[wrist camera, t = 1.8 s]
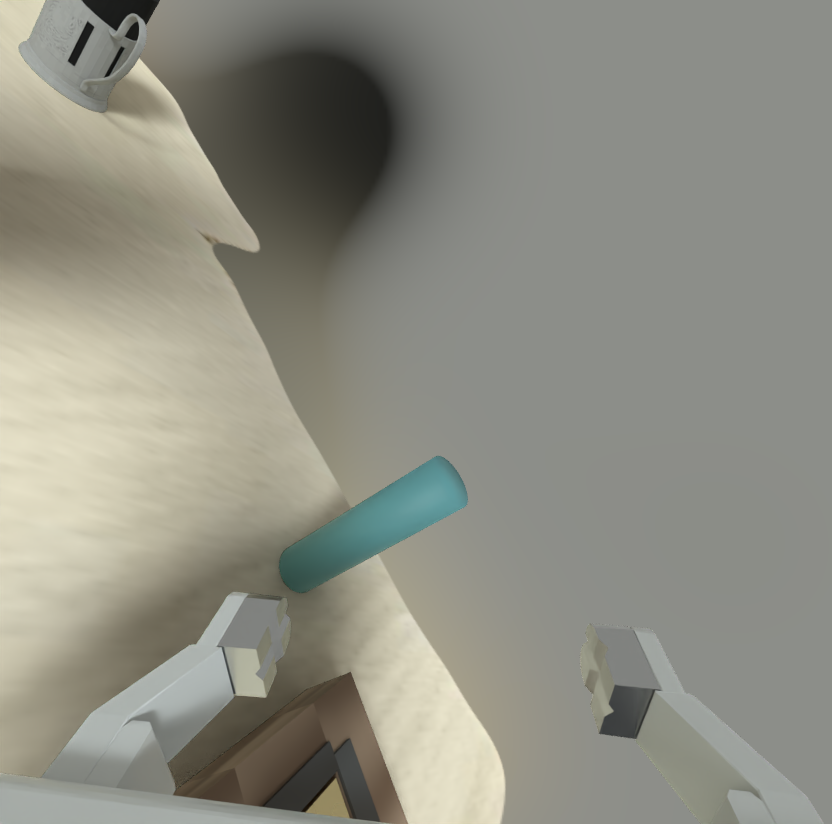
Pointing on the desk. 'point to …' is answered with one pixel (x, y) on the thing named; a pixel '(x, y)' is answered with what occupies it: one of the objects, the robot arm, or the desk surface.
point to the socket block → (306, 759)
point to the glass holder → (87, 46)
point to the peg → (375, 525)
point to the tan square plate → (328, 801)
